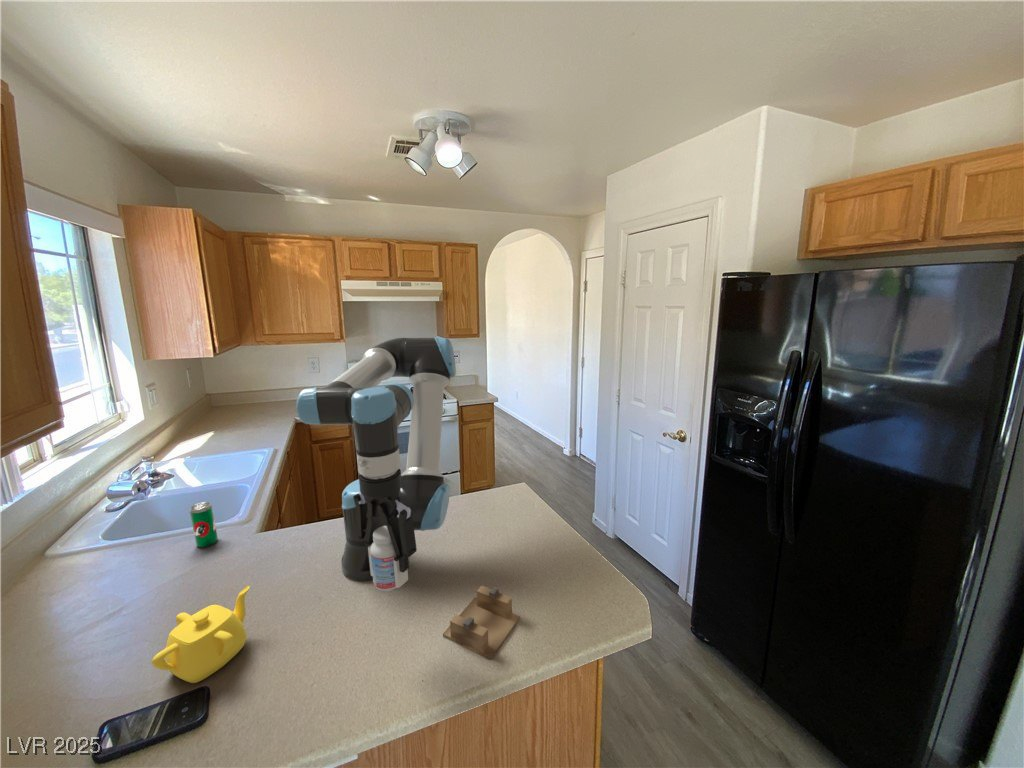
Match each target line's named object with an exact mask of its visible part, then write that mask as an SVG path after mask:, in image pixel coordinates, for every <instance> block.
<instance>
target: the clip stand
mask: <svg viewBox="0 0 1024 768" xmlns="http://www.w3.org/2000/svg"><path fill="white" fill-rule="evenodd" d="M520 619H521V616H520V615H519V614H516V613H514V612H513V597H511V596H510V595H506V594H504V593H502V592H500V590H499V588H498V587H496V586H494V587H492V589H491V588H489V587H486V586H484V585H480V587H479V588H478V589H477V590H476V596H475V597H474V598H473V599H472V600H471V601H470V602H469V603H468V604H467V606H466V607H465V608H464V609H463V610H462V611H461V612H460V614H459V615H458V614H454V616H453V617H452V618H451V619H450V621H449V626H448V627H447V628H446V629H445V630H444V631H443V632H442V637H444V638H445V639H448V640H450V641H452V642H454V643H456V644H457V645H459V646H461V647H464V648H466V649H468V650H470V651H472V652H474V653H476V654H477V655H480V656H481V657H484V658H486V659H488V660H490V661H492V660H493V659H494V657H495V656H496V654H497V653H498V651H499V650H500V649H501V647H502V646H503V644H504V643H505V642H506V640H507V638H508V637H509V636H510V634H511V632H512V631H513V629H514V628H515V626H517V623H519V621H520Z"/></svg>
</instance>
